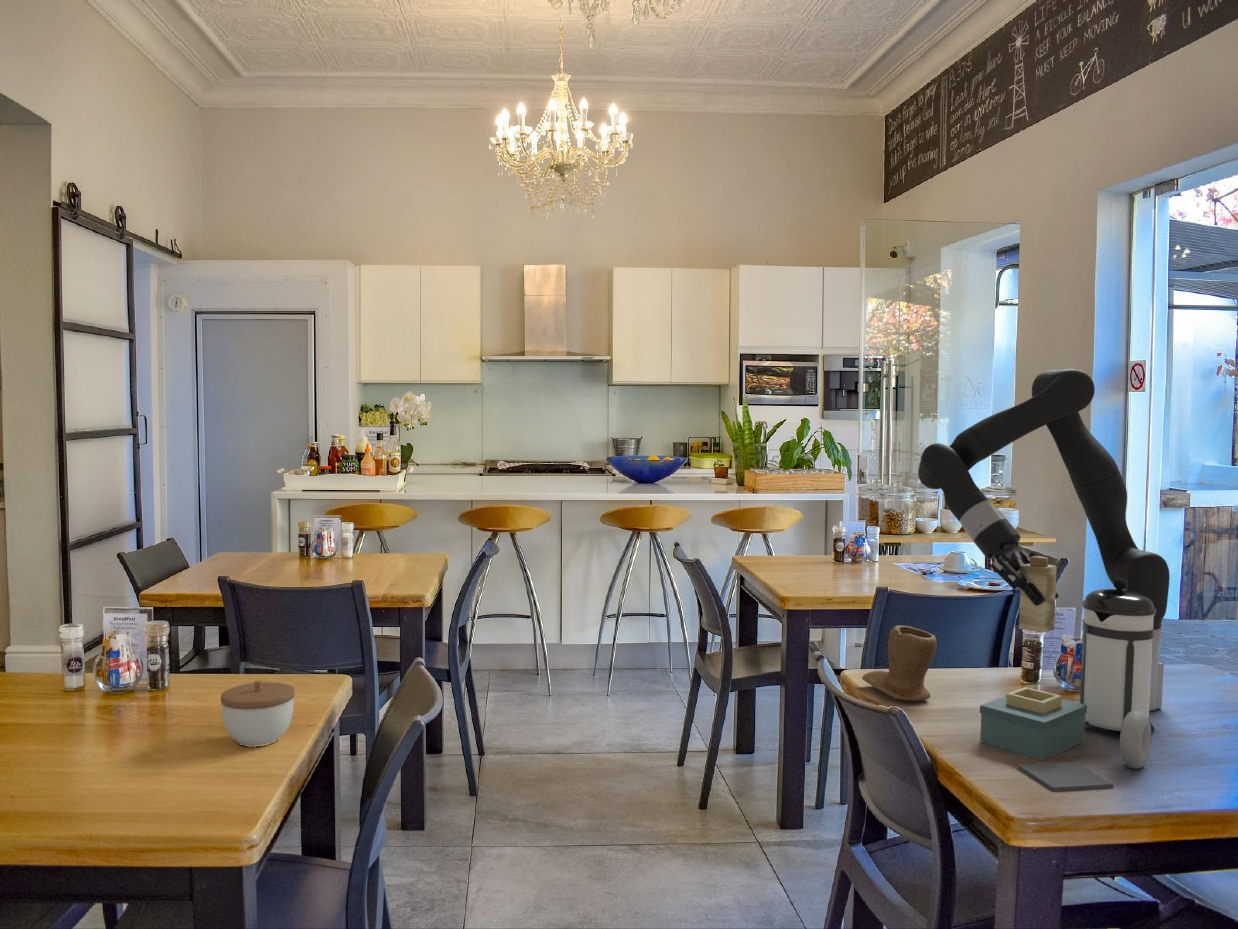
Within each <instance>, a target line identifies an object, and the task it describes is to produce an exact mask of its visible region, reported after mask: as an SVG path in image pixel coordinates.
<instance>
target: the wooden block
mask: <svg viewBox="0 0 1238 929" xmlns="http://www.w3.org/2000/svg"><path fill="white" fill-rule="evenodd" d="M1022 566H1023V567H1024V568H1025V569H1026V574H1027V576H1028V577H1029V578H1030V580H1031V583H1033V584H1034V585H1035V586H1036V588H1037V589H1038V590H1039V591H1040V592H1041V594H1042V595H1043V596H1044V597H1045V601H1044V602H1043V603H1041V604H1040V605H1038V606H1035V605H1034V604H1033V602H1032V601H1031V600H1030V599H1029V598H1028V596H1027V595H1026V594H1025V593H1024V591H1023V590H1022V591H1021V590H1019V618H1018V619H1019V620H1018V629H1020V630H1025V631H1029V632H1034V633H1040V634H1041V633H1042V634H1044V633H1048V632H1050V631H1054V630H1055V623H1056V622H1055V619H1056V618H1055V617H1056V600H1055V594H1056V592H1057V591H1056V590H1057V571H1058V570H1057V565H1052V564H1049V558H1048V557H1046V556H1039V555H1038V556H1031V557H1030V563H1029V564H1024V565H1022ZM1031 583H1030V584H1031Z"/></svg>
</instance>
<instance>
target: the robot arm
mask: <svg viewBox="0 0 1238 929" xmlns="http://www.w3.org/2000/svg"><path fill="white" fill-rule="evenodd" d="M1095 389H1096V388H1095V383H1094V380H1093V379H1092V377H1091V376H1090V375H1089V374H1088V373H1087V372H1085V371H1083V370H1081V369H1076V368H1064V369H1052V370H1045V371H1042V372H1040V373H1039V374H1038V375H1036V377H1035V379H1034V380H1033V382H1032V386H1031V398H1029V399H1027V400H1025V401H1023V402H1020V403H1019V404H1017V405H1014V406H1012V407H1010V408H1009V407H1008V408H1007V409H1004V410H1002V411H998V412H997V413H994V414H991V415H990V416H988V417H985V418H983V419H982V420H980V421H978V422H976V423H974V424H973V425H970V426H969V427H968V428H966V429H965V430H963V431H961V432H960V433H959V434H957V435H956V436H955V438H954V440H953V441H952V443H951V444H949V445H947V444H944V443H940V442H938V443H937V442H936V443H931V444H929V445H927V447H925V449H924V451H922V454H921V457H920V462H919V466H918V471H917V472H918V478H919V479H918V480H919V481H920V483H921V484H922V485H923V486H924V487H925V488H928V489H931V490H941V491H942V493H943V496H944V502H945V505H946V507H947V508H948V510H949V511H950V512H951V513H952V515H953V516H954V517H955V519H956V520H957V521H958V522H959V523H960V525H961V526H962V528H963V530H964V532H966V534H967V536H968V537H969V538H970V539H971V541H972V542H973V543H974V544H975V545H976V547H977V548H978V550H980V552H981V553H982V554H983V556H984V557H985V558H986V559H987V560H994V561H993V562H992V563H991V564H990V567H991V569H992V570H993V571H994V572H995V573H996V574H997V575H998V576H1000V577H1001V578H1002V580H1004V581H1005V582H1006V583H1007V584H1008V585H1009V586H1010V588H1011V589H1013V590H1015V589H1016V588H1018V590H1019V591H1020V590H1021V591H1022V590H1023V591H1024V593H1025V594H1026V595H1027V596H1028V598H1029V599H1030V600H1031V601H1032V602H1033V604H1034V605H1035V606H1038V605H1040V604H1041V603H1043V602H1044V601H1045V597H1044V596H1043V595H1042V594H1041V592H1040V591H1039V590H1038V589H1037V588H1036V586H1035V585H1034V584H1033V583H1031V580H1030V578H1029V577H1028V576H1027V574H1026V569H1025V568H1024V567H1023V566H1022V565H1024V564H1029V563H1030V557H1031V556H1039V555H1038V553H1037V552H1035V551H1034V550H1032V551H1031V552H1030V553H1028V552H1027V551H1026V550H1024V549H1023V548H1022V547H1021V546H1020V545H1019V542H1020V540H1021V535H1020V533H1019V532H1018V531H1017V530H1016V528H1015V527H1014V526H1013V525H1012V524H1011V522H1010V521H1009V520H1008V519H1007V518H1006V517H1005V515H1004V514H1003V513H1002V512H1001V511H1000V510H999V508H998V507H996V506H995V505H994V504H993V503H992V502H991V501H990V499H989V498H988V497H987V496H986V495H985V494H984V492H983V491H982V490H981V488H979V487H978V486H977V485H976V483H975V481H974V480H973V477H972V475H971V473H970V470H971V469H972V468H973V467H974V466H975V465H976V464H978V463H980V462H982V461H984V460H985V459H987V458H989V457H991V456H992V455H994V454H995V453H997V452H998V451H1001V449H1004V448H1005V447H1007V446H1008V445H1010V444H1012V443H1014V442H1015V441H1017V440H1020V438H1023V437H1024V436H1026V435H1028V434H1030V433H1031V432H1034V431H1035V430H1038V429H1040V428H1042V427H1044V426H1046V427H1047V430H1048V431H1049V432H1050V435H1051V437H1052V438H1053V441H1054V443H1055V445H1056V447H1057V449H1058V452H1059V454H1060V456H1061V459H1062V461H1063V463H1064V465H1065V468H1066V470H1067V472H1068V475H1069V478H1070V480H1071V483H1072V485H1073V488H1074V490H1075V494H1076V495H1077V498H1078V500H1079V501H1080V504H1081V505H1082V508H1083V510H1084V513H1085V515H1086V519H1087V520H1088V523H1089V525H1090V527H1091V529H1092V532H1093V534H1094V537H1095V540H1096V543H1097V546H1098V550H1099V554H1100V556H1101V560H1102V563H1103V568H1104V570H1105V573H1106V575H1107V577H1108V580H1110V582H1111V584H1113V582H1114V581H1115V580H1116V579H1119V578H1120V579H1123V580H1124V581H1125V582H1126V587H1125V588H1124V589H1122V590H1126V591H1132V592H1136V593H1140V594H1142V595H1145V596H1146V597H1148V598H1149V599H1150V600H1151V601H1152V603H1153V606H1154V607H1155V608H1156V614H1155V615H1154V619H1153V627H1154V638H1153V639H1152V660H1151V681H1150V701H1149V712H1152V711H1156V710H1158V709H1162V706H1163V684H1164V665H1165V664H1164V663H1163V662H1160V657H1161V633H1162V622H1163V620H1164V617H1165V615H1166V613H1167V607H1168V599H1169V589H1170V570H1169V565H1168V563H1167V561H1166V560H1165V559H1164V558H1163V556H1161V555H1159V554H1157V553H1156V552H1155V553H1154V552H1151V551H1147V550H1141V549H1139V547H1138V546H1137V545H1136V543H1135V541H1134V539H1133V537H1132V534H1131V532H1130V530H1129V527H1128V524H1127V519H1126V518H1127V516H1126V515H1127V505H1128V492H1127V490H1128V489H1127V486H1126V484H1125V481H1124V479H1123V476H1122V474H1121V471H1120V469H1119V466H1118V465H1117V463H1116V460H1115V459H1114V458H1113V457H1112V455H1111V454H1110V452H1108V450H1107V449H1106V448H1105V447H1104V446H1103V444H1101V443H1100V441H1098V439H1096V437H1095V436H1094V435H1093V434H1092V433H1091V432H1090V431H1089V429H1088V427H1087V426H1086V424H1085V423H1084V421H1083V419H1082V417H1081V414H1080V411H1083V410H1084V409H1086V408H1087V407H1088V406H1089V405H1090V403H1092V400H1093V399H1094V396H1095V393H1096V392H1095ZM1030 583H1031V584H1030ZM1058 598H1059V594H1058V592H1057V591H1056V594H1055V601H1056V600H1057V599H1058Z"/></svg>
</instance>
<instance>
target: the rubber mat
mask: <svg viewBox="0 0 1238 929" xmlns="http://www.w3.org/2000/svg"><path fill="white" fill-rule="evenodd" d="M1017 769H1019V770H1020V771H1021V772H1023V773H1024V774H1026V773H1027V774H1028V776H1029V777H1031V778H1032V779H1034V780H1035V781H1037V782H1039V783H1040V784H1041V785H1043V786H1044V787H1045V788H1047V789H1049V790H1050V791H1053V792H1058V791H1059V792H1061V791H1075V790H1077V791H1078V790H1079V791H1080V790H1081V791H1082V790H1093V789H1094V790H1095V789H1096V790H1097V789H1112V788H1114V783H1112V782H1111V781H1109V780H1107V779H1106V778H1104V777H1102V776H1100V775H1099V774H1097V773H1095V772H1094V771H1091V770H1090V769H1089V768H1087V767H1085V766H1083V765H1082V764H1079V763H1078V762H1077V761H1069V762H1068V761H1067V762H1065V761H1064V762H1047V763H1045V762H1044V763H1031V764H1027V763H1026V764H1018V765H1017ZM1027 774H1026V775H1027Z"/></svg>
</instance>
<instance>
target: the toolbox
mask: <svg viewBox="0 0 1238 929" xmlns="http://www.w3.org/2000/svg"><path fill="white" fill-rule="evenodd" d="M1086 713H1087V705H1084V704H1080V702H1075V701H1071V700H1068V699H1063V696H1062V695H1059V694H1056V693H1051V692H1048V691H1044V690H1040V689H1039V690H1038V689H1035V688H1031V687H1026V686H1024V687H1021V688H1019V689H1018V688H1017V689H1016V690H1013V691H1010V692H1007V693H1006V695H1005V696H1003V697H1000V698H996V699H994V700H992V701H988V702H984V703H983V704H980V705H979V714H981V716H980V733H979V734H980V737H979V742H980V741H982V742H984V743H983V744H985V743H988V744H987V745H989V744H990V745H989V746H992V747H995V746H996V748H998V749H999V748H1000V749H1002V750H1005V751H1006V750H1007V751H1008V752H1009V751H1010V752H1013V753H1016V754H1020V755H1022V756H1026V757H1029V758H1031V759H1032V758H1033V759H1036V760H1040V761H1046V760H1048V759H1049V758H1051V757H1053V756H1056V755H1058V754H1060V753H1062V752H1065V751H1066V750H1069V749H1071V748H1073V747H1076V746H1078V745H1079V744H1082V743H1084V742H1085V730H1086V728H1085V726H1086V725H1085V714H1086ZM982 742H981V743H982Z"/></svg>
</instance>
